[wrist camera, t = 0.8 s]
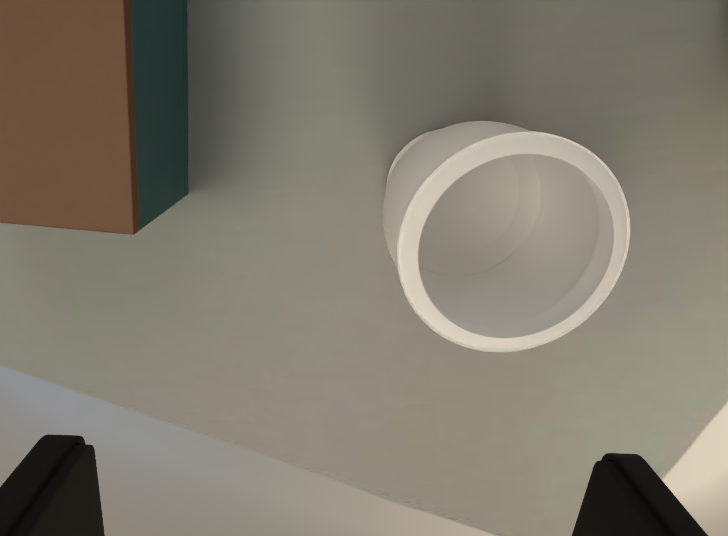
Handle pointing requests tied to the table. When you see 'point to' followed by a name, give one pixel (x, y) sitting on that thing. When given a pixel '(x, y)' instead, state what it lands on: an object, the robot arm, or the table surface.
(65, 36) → the toy box lid
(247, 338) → the table surface
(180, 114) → the toy box
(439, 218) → the jar
